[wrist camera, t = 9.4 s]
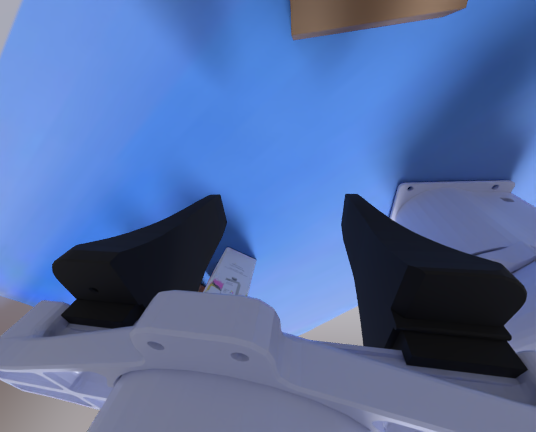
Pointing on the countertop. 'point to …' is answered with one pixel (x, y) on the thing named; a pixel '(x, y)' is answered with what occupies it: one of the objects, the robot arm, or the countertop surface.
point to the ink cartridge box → (232, 274)
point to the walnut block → (362, 14)
